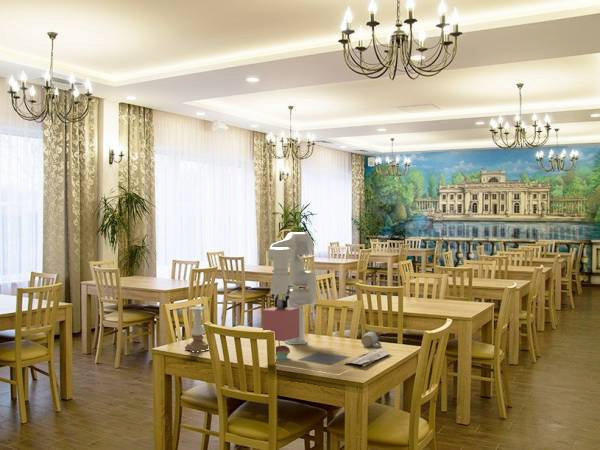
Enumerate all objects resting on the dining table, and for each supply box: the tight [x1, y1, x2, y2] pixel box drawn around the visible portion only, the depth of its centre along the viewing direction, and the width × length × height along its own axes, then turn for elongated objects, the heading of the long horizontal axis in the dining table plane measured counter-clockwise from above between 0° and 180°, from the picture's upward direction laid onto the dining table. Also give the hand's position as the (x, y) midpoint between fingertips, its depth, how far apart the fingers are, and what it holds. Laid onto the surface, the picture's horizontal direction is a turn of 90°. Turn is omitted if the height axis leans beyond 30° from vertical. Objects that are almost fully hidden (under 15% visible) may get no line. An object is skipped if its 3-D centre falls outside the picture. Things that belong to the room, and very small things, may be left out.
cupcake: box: [275, 341, 291, 360], centre depth 306 cm, size 9×8×12 cm
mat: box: [297, 352, 350, 366], centre depth 304 cm, size 20×20×1 cm
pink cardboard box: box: [262, 298, 300, 342], centre depth 305 cm, size 13×14×20 cm
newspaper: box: [344, 348, 391, 369], centre depth 302 cm, size 35×12×4 cm, turn 150°
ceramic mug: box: [360, 331, 382, 348], centre depth 334 cm, size 11×8×8 cm
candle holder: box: [184, 305, 209, 352], centre depth 330 cm, size 11×11×24 cm
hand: (281, 307), depth 305 cm, fingers closed on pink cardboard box, 4 cm apart
